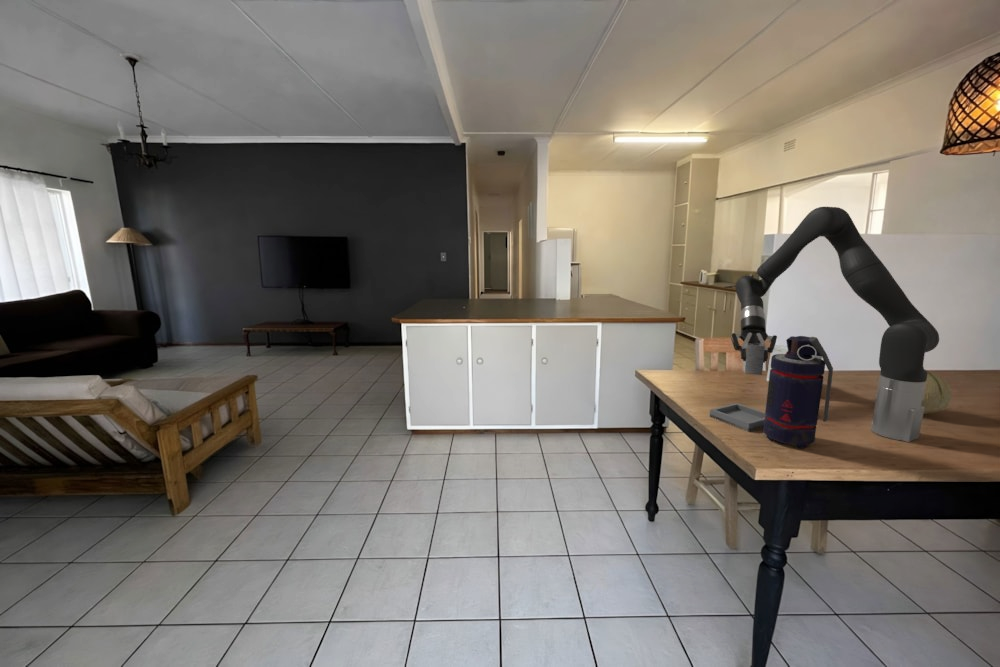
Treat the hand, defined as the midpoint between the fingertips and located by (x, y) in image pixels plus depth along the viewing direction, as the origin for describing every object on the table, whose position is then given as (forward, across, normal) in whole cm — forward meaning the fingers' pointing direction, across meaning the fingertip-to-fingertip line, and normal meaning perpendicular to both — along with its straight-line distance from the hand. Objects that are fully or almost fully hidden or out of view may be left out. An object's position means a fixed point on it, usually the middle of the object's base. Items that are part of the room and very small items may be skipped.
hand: (754, 360), depth 133 cm
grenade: (+30, +7, -5) cm, 31 cm away
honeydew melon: (+1, +49, +24) cm, 55 cm away
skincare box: (-9, +17, +34) cm, 39 cm away
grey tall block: (+2, 0, +5) cm, 5 cm away
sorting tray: (+21, -4, +2) cm, 22 cm away
